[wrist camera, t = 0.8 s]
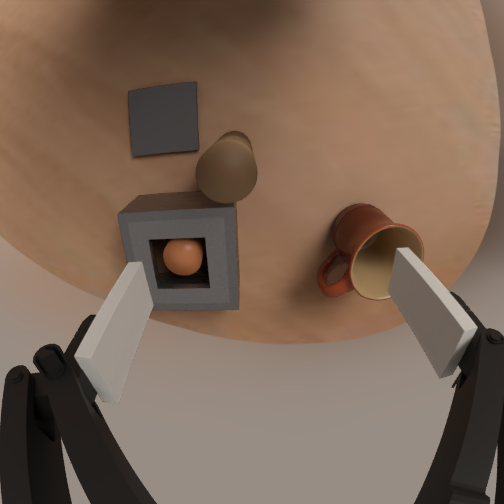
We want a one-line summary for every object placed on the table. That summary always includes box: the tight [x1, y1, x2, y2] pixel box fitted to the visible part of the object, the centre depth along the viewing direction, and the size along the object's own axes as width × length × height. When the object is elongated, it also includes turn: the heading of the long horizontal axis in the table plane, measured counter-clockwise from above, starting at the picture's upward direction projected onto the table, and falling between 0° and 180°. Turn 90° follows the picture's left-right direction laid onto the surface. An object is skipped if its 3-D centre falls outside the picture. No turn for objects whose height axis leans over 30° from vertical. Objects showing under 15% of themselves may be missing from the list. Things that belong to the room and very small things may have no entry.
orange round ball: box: [163, 237, 205, 275], centre depth 33 cm, size 4×4×3 cm
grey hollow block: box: [118, 191, 240, 310], centre depth 34 cm, size 12×12×7 cm
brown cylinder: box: [196, 131, 257, 203], centre depth 25 cm, size 4×4×16 cm
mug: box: [317, 203, 424, 300], centre depth 33 cm, size 12×9×10 cm
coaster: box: [128, 82, 199, 156], centre depth 30 cm, size 8×8×1 cm
